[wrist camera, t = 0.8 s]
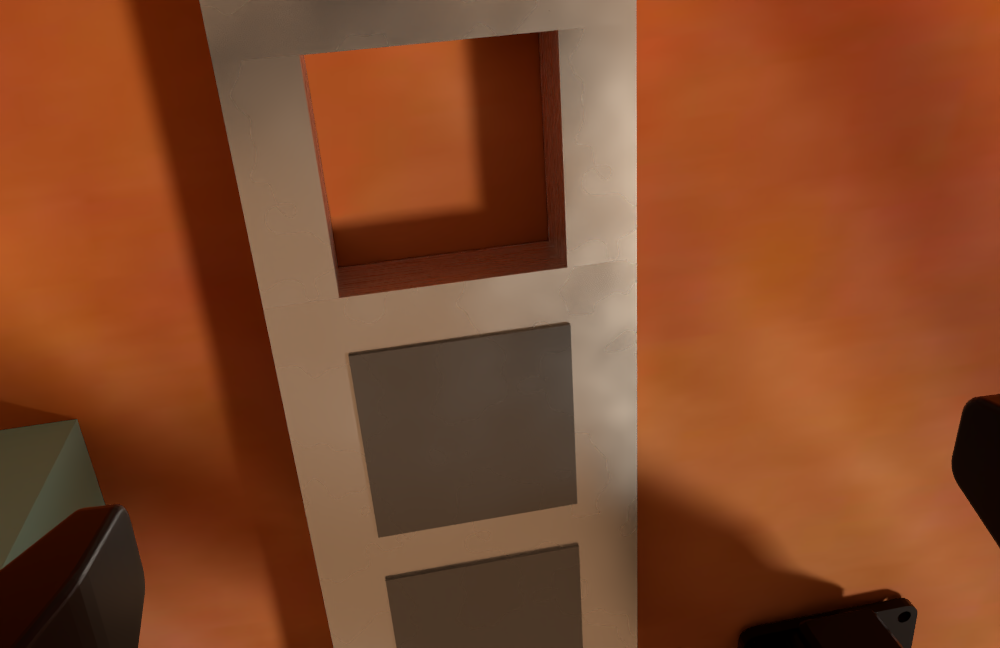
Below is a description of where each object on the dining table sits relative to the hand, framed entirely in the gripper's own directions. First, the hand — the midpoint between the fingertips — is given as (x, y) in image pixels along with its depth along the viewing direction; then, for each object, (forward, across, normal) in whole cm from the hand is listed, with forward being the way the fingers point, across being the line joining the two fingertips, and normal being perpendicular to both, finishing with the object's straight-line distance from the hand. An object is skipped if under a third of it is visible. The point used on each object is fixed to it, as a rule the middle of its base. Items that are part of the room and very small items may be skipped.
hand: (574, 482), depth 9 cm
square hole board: (+14, 0, +5) cm, 14 cm away
